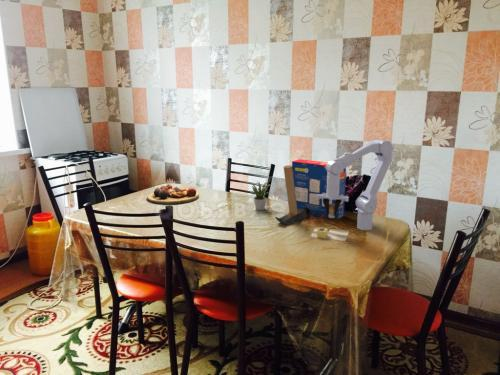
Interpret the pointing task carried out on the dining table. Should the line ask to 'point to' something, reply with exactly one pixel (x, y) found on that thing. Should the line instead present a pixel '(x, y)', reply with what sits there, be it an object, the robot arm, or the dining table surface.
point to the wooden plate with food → (172, 195)
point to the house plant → (260, 196)
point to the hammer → (292, 200)
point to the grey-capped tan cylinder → (331, 211)
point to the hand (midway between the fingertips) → (331, 214)
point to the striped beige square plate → (332, 234)
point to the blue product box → (314, 186)
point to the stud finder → (322, 232)
